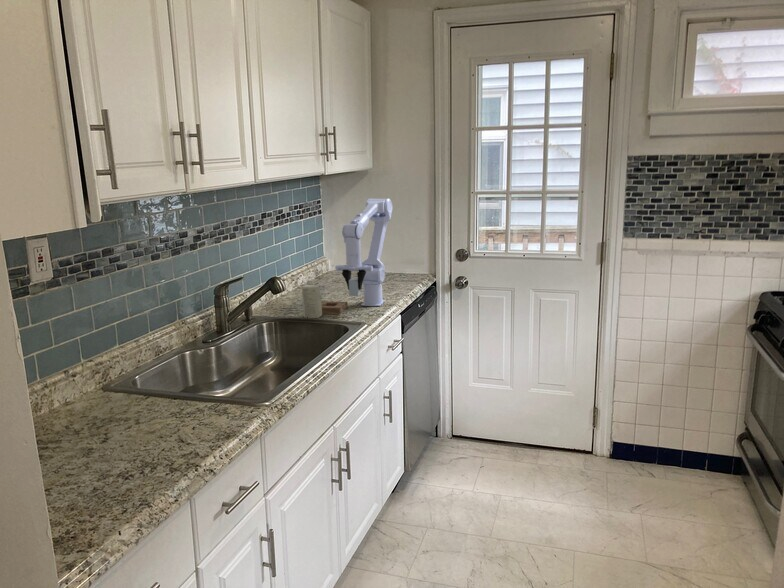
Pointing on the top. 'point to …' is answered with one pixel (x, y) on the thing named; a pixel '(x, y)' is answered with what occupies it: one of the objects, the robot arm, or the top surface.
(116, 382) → the top surface
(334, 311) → the walnut socket block
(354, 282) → the peg
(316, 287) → the skincare box
